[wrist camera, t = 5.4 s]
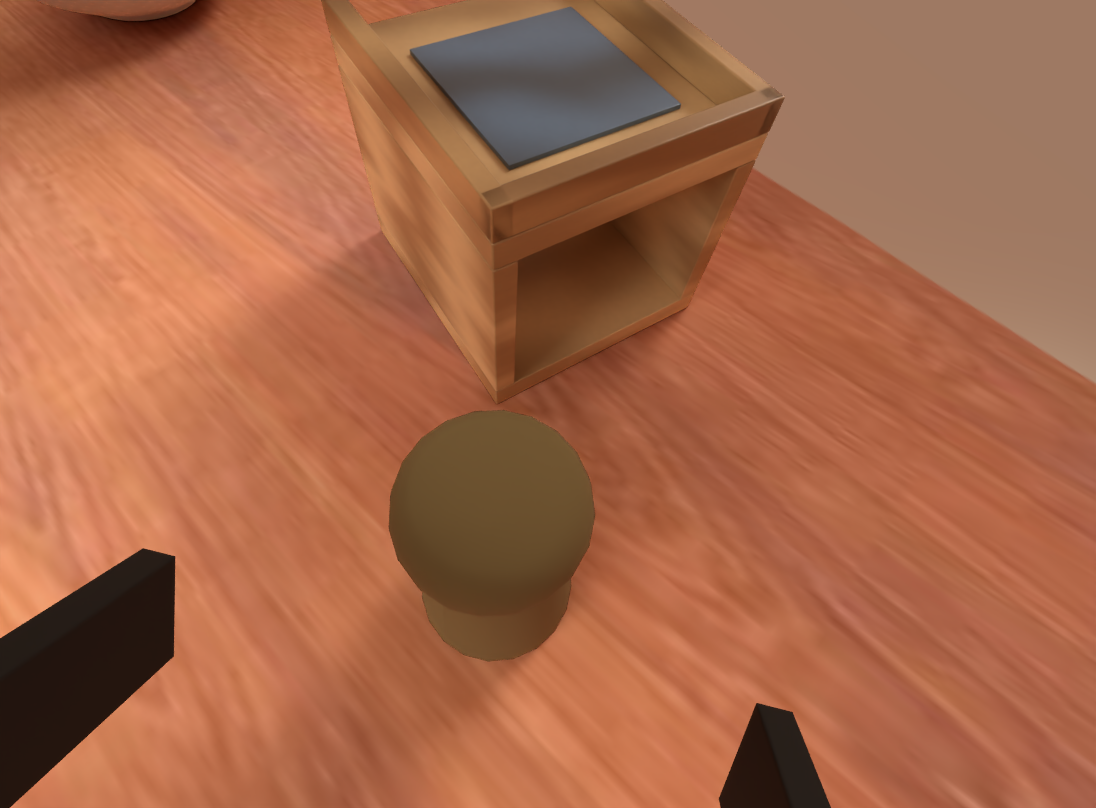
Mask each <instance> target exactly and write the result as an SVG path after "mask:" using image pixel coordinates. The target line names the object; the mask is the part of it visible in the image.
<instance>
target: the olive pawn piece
mask: <svg viewBox="0 0 1096 808" xmlns="http://www.w3.org/2000/svg"><path fill="white" fill-rule="evenodd" d="M594 519H595V510H594V502H593V495H592V487H591V482H590V479H589V477H588V475H587V473H586V470H585V468H584V466H583V464H582V462H581V460H580V458H579V456H578V454H577V452H576V451H575V450H574V449H573V448H572V447H571V446H570V444H569V443H568V442H567V441H566V440H565V439H564V438H563V437H562V436H561V435H560V434H559V433H558V432H557V431H556V430H554V429H552V428H551V427H549V426H547V425H545V424H544V423H542V422H540V421H538V420H537V419H535V418H533V417H530V416H526V415H522V414H518V413H514V412H509V411H505V410H497V411H475V412H472V413H469V414H466V415H462V416H459V417H456V418H453V419H450V420H447V421H446V422H444V423H443V424H441V425H440V426H438V427H437V428H435V429H434V430H432V431H431V432H429V433H428V434H427V435H425V436H424V437H422V438H421V439H420V441H419V442H418V443H417V444H416V446H415V447H414V448H413V449H412V451H411V452H410V453H409V454H408V455H407V457H406V458H405V459H404V460H403V462H402V465H401V467H400V470H399V472H398V475H397V477H396V480H395V483H394V485H393V488H392V491H391V496H390V513H389V531H390V535H391V538H392V541H393V545H394V548H395V552H396V555H397V559H398V561H399V562H400V563H401V565H402V566H403V567H404V569H405V570H406V572H407V573H408V574H409V576H410V577H411V578H412V580H413V581H414V583H415V584H416V585H417V587H418V588H419V589H420V590H421V591H422V598H423V602H424V605H425V608H426V612H427V615H428V618H429V621H430V623H431V624H432V625H433V627H434V628H435V630H436V631H437V632H438V634H439V635H440V636H441V638H442V639H443V641H444V642H446V643H447V644H449V645H450V646H452V647H453V648H455V649H456V650H457V651H459V652H460V653H462V654H463V655H466V656H470V657H473V658H477V659H481V660H485V661H498V660H508V659H514V658H517V657H519V656H521V655H523V654H525V653H527V652H530V651H532V650H534V649H536V648H537V647H538V646H539V645H540V644H541V643H543V642H544V641H545V640H546V639H547V638H548V637H549V636H550V635H551V634H552V633H553V632H554V631H555V629H556V628H557V626H558V624H559V622H560V620H561V618H562V617H563V615H564V613H565V611H566V609H567V604H568V599H569V594H570V589H571V577H572V576H573V574H574V572H575V570H576V569H577V567H578V565H579V563H580V561H581V560H582V558H583V556H584V554H585V553H586V551H587V549H588V547H589V544H590V539H591V534H592V529H593V524H594Z"/></svg>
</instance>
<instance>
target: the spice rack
mask: <svg viewBox="0 0 1096 808" xmlns="http://www.w3.org/2000/svg"><path fill="white" fill-rule="evenodd" d="M321 2H322V6H323V10H324V13H325V17H326V21H327V25H328V29H329V32H330V33H331V39H332V43H333V47H334V51H335V55H336V59H337V62H338V67H339V70H340V74H341V78H342V82H343V86H344V90H345V93H346V97H347V101H348V105H349V109H350V112H351V116H352V120H353V124H354V128H355V132H356V135H357V139H358V143H359V147H360V151H361V154H362V158H363V162H364V166H365V170H366V174H367V177H368V181H369V185H370V189H371V193H372V196H373V200H374V204H375V208H376V212H377V216H378V220H379V223H380V227H381V230H382V232H383V234H384V235H385V237H386V238H387V240H388V241H389V243H390V244H391V246H392V247H393V249H394V250H395V252H396V253H397V255H398V256H399V258H400V259H401V261H402V262H403V264H404V265H405V267H406V268H407V270H408V271H409V273H410V274H411V276H412V277H413V279H414V280H415V282H416V283H417V285H418V286H419V288H420V289H421V291H422V293H423V294H424V296H425V297H426V299H427V300H428V302H429V303H430V305H431V306H432V308H433V309H434V311H435V312H436V314H437V315H438V317H439V318H440V320H441V321H442V323H443V324H444V326H445V327H446V329H447V330H448V332H449V333H450V335H451V336H452V338H453V339H454V341H455V342H456V344H457V345H458V347H459V348H460V350H461V351H462V353H463V355H464V356H465V358H466V359H467V361H468V362H469V364H470V365H471V367H472V368H473V370H474V371H475V373H476V374H477V376H478V377H479V379H480V380H481V382H482V383H483V385H484V386H485V388H486V389H487V391H488V392H489V394H490V395H491V397H492V398H493V400H494V401H495V403H496V404H498V403H500V402H502V401H504V400H506V399H508V398H510V397H512V396H514V395H516V394H518V393H520V392H522V391H524V390H526V389H528V388H530V387H532V386H533V385H535V384H537V383H539V382H541V381H543V380H545V379H547V378H549V377H551V376H553V375H555V374H557V373H559V372H561V371H563V370H565V369H567V368H569V367H571V366H573V365H575V364H577V363H578V362H580V361H582V360H584V359H586V358H588V357H590V356H592V355H594V354H596V353H598V352H600V351H602V350H604V349H606V348H608V347H610V346H612V345H614V344H616V343H618V342H620V341H622V340H623V339H625V338H627V337H629V336H631V335H633V334H635V333H637V332H639V331H641V330H643V329H645V328H647V327H649V326H651V325H653V324H655V323H657V322H659V321H661V320H663V319H665V318H667V317H669V316H670V315H672V314H674V313H676V312H678V311H680V310H682V309H684V308H686V307H688V305H689V303H690V301H691V299H692V297H693V295H694V292H695V290H696V288H697V286H698V284H699V282H700V279H701V277H702V275H703V273H704V271H705V269H706V266H707V264H708V262H709V260H710V258H711V256H712V254H713V251H714V249H715V247H716V245H717V243H718V241H719V238H720V236H721V234H722V232H723V230H724V228H725V226H726V223H727V221H728V219H729V217H730V215H731V213H732V211H733V208H734V206H735V204H736V202H737V200H738V198H739V195H740V193H741V191H742V189H743V187H744V185H745V183H746V180H747V178H748V176H749V174H750V172H751V170H752V167H753V165H754V163H755V159H756V158H757V156H758V154H759V152H760V150H761V148H762V145H763V143H764V141H765V139H766V137H767V135H768V133H767V132H769V131H770V129H771V126H772V124H773V122H774V120H775V118H776V116H777V113H778V111H779V109H780V107H781V105H782V103H783V100H784V96H783V95H782V94H781V93H779V92H778V91H777V90H776V89H774V88H773V87H772V86H770V85H769V84H768V83H767V82H765V81H764V80H763V79H761V78H760V77H759V76H758V75H756V74H755V73H754V72H753V71H751V70H750V69H749V68H748V67H746V66H745V65H744V64H742V63H741V62H740V61H739V60H737V59H736V58H735V57H734V56H732V55H731V54H730V53H728V52H727V51H726V50H725V49H723V48H722V47H721V46H720V45H718V44H717V43H716V42H715V41H713V40H712V39H711V38H709V37H708V36H707V35H706V34H704V33H703V32H702V31H701V30H699V29H698V28H697V27H696V26H694V25H693V24H692V23H690V22H689V21H688V20H687V19H685V18H684V17H683V16H682V15H680V14H679V13H678V12H677V11H675V10H674V9H673V8H672V7H670V6H669V5H668V4H666V3H665V2H664V1H663V0H466V1H461V2H457V3H453V4H449V5H445V6H441V7H437V8H433V9H429V10H424V11H420V12H416V13H412V14H408V15H404V16H400V17H396V18H392V19H388V20H383V21H379V22H375V23H371V24H367V22H366V21H365V20H364V19H363V18H362V16H361V15H360V14H359V13H358V11H357V10H356V9H355V8H354V7H353V5H352V4H351V3H350V2H349V1H348V0H321Z"/></svg>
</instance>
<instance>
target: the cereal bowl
mask: <svg viewBox="0 0 1096 808" xmlns="http://www.w3.org/2000/svg"><path fill="white" fill-rule="evenodd" d="M37 1H39V2H41V3H43V4H47V5H49V6H51V7H55V8H60V9H62V10H65V11H72V12H75V13H84V14H93V15H98V16H100V15H101V16H103V17H107V18H111V19H117V20H125V21H144V20H152V19H158V18H163V17H167V16H170V15H173V14H176V13H178V12H180V11H182V10H184V9H186V8H188V7H189V6H191V5H192V4H193V3H194V2H195V1H196V0H37Z"/></svg>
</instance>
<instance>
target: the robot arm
mask: <svg viewBox="0 0 1096 808" xmlns="http://www.w3.org/2000/svg"><path fill="white" fill-rule="evenodd" d="M174 607H175V556H171V555H167V554H163V553H159V552H156V551H152V550H148V549H144V548H143V549H141V550H140V551H138V552H137V553H135V554H133V555H132V556H130V557H129V558H127V559H125V560H124V561H122V562H121V563H119V564H118V565H116V566H114V567H113V568H111V569H110V570H108V571H106V572H105V573H103V574H102V575H100V576H98V577H97V578H95V579H94V580H92V581H91V582H89V583H87V584H86V585H84V586H83V587H81V588H79V589H78V590H76V591H75V592H73V593H72V594H70V595H68V596H67V597H65V598H64V599H62V600H60V601H59V602H57V603H56V604H54V605H52V606H51V607H49V608H48V609H46V610H45V611H43V612H41V613H40V614H38V615H37V616H35V617H33V618H32V619H30V620H29V621H27V622H26V623H24V624H22V625H21V626H19V627H18V628H16V629H14V630H13V631H11V632H10V633H8V634H7V635H5V636H3V637H2V638H0V808H10V807H11V806H12V805H13V804H14V803H15V802H16V801H18V800H19V799H20V798H21V797H22V796H23V795H24V794H25V793H26V792H27V791H28V790H29V789H31V788H32V787H33V786H34V785H35V784H36V783H37V782H38V781H39V780H40V779H41V778H42V777H44V776H45V775H46V774H47V773H48V772H49V771H50V770H51V769H52V768H53V767H54V766H55V765H57V764H58V763H59V762H60V761H61V760H62V759H63V758H64V757H65V756H66V755H67V754H68V753H70V752H71V751H72V750H73V749H74V748H75V747H76V746H77V745H78V744H79V743H80V742H81V741H83V740H84V739H85V738H86V737H87V736H88V735H89V734H90V733H91V732H92V731H93V730H94V729H96V728H97V727H98V726H99V725H100V724H101V723H102V722H103V721H104V720H105V719H106V718H107V717H109V716H110V715H111V714H112V713H113V712H114V711H115V710H116V709H117V708H118V707H119V706H120V705H121V704H123V703H124V702H125V701H126V700H127V699H128V698H129V697H130V696H131V695H132V694H133V693H134V692H136V691H137V690H138V689H139V688H140V687H141V686H142V685H143V684H144V683H145V682H146V681H147V680H149V679H150V678H151V677H152V676H153V675H154V674H155V673H156V672H157V671H158V670H159V669H160V668H162V667H163V666H164V665H165V664H166V663H167V662H168V661H169V660H170V659H171V658H172V657H173V656H174ZM719 801H720V806H721V808H831V807H830V804H829V802H828V799H827V797H826V794H825V792H824V789H823V787H822V784H821V782H820V779H819V777H818V774H817V772H816V769H815V767H814V764H813V762H812V759H811V757H810V754H809V752H808V749H807V747H806V745H805V742H804V740H803V737H802V735H801V732H800V730H799V727H798V725H797V722H796V720H795V717H794V715H793V712H790V711H786V710H782V709H778V708H774V707H770V706H766V705H762V704H758V703H756V706H755V708H754V711H753V714H752V716H751V719H750V721H749V724H748V726H747V729H746V731H745V734H744V736H743V739H742V741H741V744H740V747H739V749H738V752H737V754H736V757H735V759H734V762H733V764H732V767H731V769H730V772H729V774H728V777H727V780H726V782H725V785H724V787H723V790H722V792H721V795H720V797H719Z"/></svg>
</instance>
